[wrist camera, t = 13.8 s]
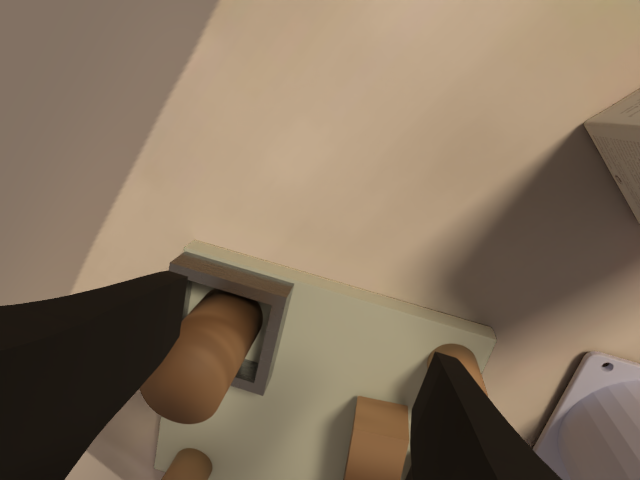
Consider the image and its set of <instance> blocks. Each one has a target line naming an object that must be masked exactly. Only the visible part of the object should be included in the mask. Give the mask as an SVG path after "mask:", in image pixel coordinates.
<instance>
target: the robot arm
mask: <svg viewBox="0 0 640 480" xmlns="http://www.w3.org/2000/svg"><path fill="white" fill-rule="evenodd" d="M187 281H188V276H185V275H181V274H178V273H175V272H171V271H163V272H158V273H154V274H150V275H146V276H143V277H139V278H135V279H132V280H128V281H125V282H121V283H117V284H114V285H110V286H106V287H102V288H98V289H94V290H90V291H86V292H81V293H77V294H73V295H69V296H64V297H59V298H54V299H48V300H42V301H36V302H29V303H23V304H16V305H7V306H0V480H65V478H66V477H67V475H68V474H69V472H70V471H71V470H72V468H73V467H74V466H75V464H76V463H77V462H78V460H79V459H80V458H81V456H82V455H83V453H84V452H85V451H86V450H87V448H88V447H89V445H90V444H91V443H92V441H93V440H94V439H95V438H96V436H97V435H98V434H99V433H100V432H101V430H102V429H103V428H104V427H105V426H106V424H107V423H108V422H109V421H110V420H111V419H112V418H113V417H114V415H115V414H116V413H117V412H118V411H119V410H120V409H121V408H122V407H123V406H124V404H125V403H126V402H127V401H128V400H129V399H130V398H131V397H132V396H133V395H134V393H135V392H136V391H137V390H138V389H139V388H140V387H141V386H142V385H143V384H144V382H145V381H146V380H147V379H148V378H149V377H150V376H151V375H152V373H153V372H154V371H155V370H156V369H157V368H158V367H159V365H160V364H161V363H162V362H163V360H164V359H165V357H166V356H167V354H168V353H169V352H170V350H171V349H172V347H173V346H174V344H175V342H176V341H177V339H178V338H179V336H180V329H181V322H182V315H183V309H184V302H185V295H186V288H187ZM607 362H608V363H609V365H608V366H606V367H602V365H603V364H604V363H607ZM410 452H411V465H412V477H413V480H640V364H639V363H636V362H633V361H629V360H626V359H622V358H619V357H616V356H612V355H609V354H605V353H602V352H598V351H592V352H589V353H587V354H586V355H585V356H584V357H583V359H582V361H581V362H580V364H579V366H578V368H577V370H576V371H575V373H574V375H573V377H572V379H571V380H570V382H569V384H568V386H567V388H566V390H565V391H564V393H563V395H562V397H561V399H560V400H559V402H558V404H557V406H556V408H555V409H554V411H553V413H552V415H551V417H550V419H549V420H548V422H547V424H546V426H545V428H544V429H543V431H542V433H541V435H540V437H539V438H538V440H537V442H536V444H535V446H534V447H533V449H531V448H530V447H529V445H528V444H527V443H526V442H525V441H524V440H523V439H522V438H521V436H520V435H519V434H518V433H517V432H516V431H515V430H514V428H513V427H512V426H511V425H510V424H509V423H508V422H507V420H506V419H505V418H504V417H503V415H502V414H501V413H500V412H499V411H498V409H497V408H496V407H495V406H494V404H493V403H492V402H491V401H490V399H489V398H488V397H487V395H486V394H485V393H484V391H483V390H482V389H481V388H480V386H479V385H478V384H477V382H476V381H475V380H474V378H473V377H472V376H471V374H470V373H469V372H468V371H467V369H466V368H465V367H464V365H463V364H462V363H461V362H460V361H459V359H458V358H456V357H452V356H449V355H446V354H442V353H439V352H436V351H435V353H434V355H433V358H432V360H431V363H430V365H429V368H428V370H427V373H426V375H425V378H424V380H423V383H422V385H421V388H420V390H419V393H418V395H417V398H416V400H415V403H414V405H413V408H412V413H411V430H410Z"/></svg>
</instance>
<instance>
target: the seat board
mask: <svg viewBox="0 0 640 480" xmlns="http://www.w3.org/2000/svg"><path fill="white" fill-rule="evenodd" d="M185 251H186V252H190V253H193V254H196V255H200V256H203V257H206V258H210V259H213V260H216V261H220V262H223V263H227V264H230V265H233V266H237V267H240V268H243V269H247V270H250V271H253V272H257V273H260V274H263V275H267V276H270V277H273V278H277V279H280V280H284V281H287V282H290V283H294V288H293V292H292V296H291V300H290V304H289V308H288V312H287V316H286V320H285V325H284V329H283V333H282V337H281V341H280V345H279V349H278V353H277V357H276V361H275V365H274V370H273V374H272V377H271V380H270V382H269V384H268V386H267V389H266V391H265V393H264V395H263V396H261V395H258V394H255V393H252V392H249V391H246V390H243V389H240V388H236V387H233V386H230V387H229V389H228V391H227V393H226V394H225V396H224V398H223V400H222V402H221V404H220V406H219V407H218V409H217V411H216V412H215V414H214V415H213V416H212V417H210V418H209V419H207V420H206V421H203V422H201V423H197V424H181V423H176V422H173V421H170V420H168V419H166V418H164V417H162V416H161V420H160V428H159V435H158V442H157V449H156V457H155V464H154V469H157V470H160V471H163V472H166V473H165V475H164V476H163V478H162V479H161V480H343V478H344V472H345V466H346V461H347V455H348V449H349V443H350V438H351V432H352V426H353V420H354V415H355V409H356V403H357V397H358V396H363V397H367V398H372V399H377V400H382V401H387V402H392V403H397V404H402V405H407V406H408V423H409V444H408V449H407V453H406V457H405V462H404V466H403V470H402V474H401V479H400V480H413V477H412V465H411V452H410V430H411V413H412V408H413V405H414V403H415V400H416V398H417V395H418V393H419V390H420V388H421V385H422V383H423V380H424V378H425V375H426V373H427V370H428V368H429V365H430V363H431V360H432V358H433V355H434V353H435V351H436V352H439V353H442V354H446V355H449V356H452V357H456V358H458V359H459V361H460V362H461V363H462V364H463V365H464V367H465V368H466V369H467V371H468V372H469V373H470V374H471V376H472V377H473V378H474V380H475V381H476V382H477V384H478V385H479V386H480V388H481V389H482V390H483V391H484V393H485V394H486V395H487V397H488V394H487V391H486V388H485V385H484V382H483V378H482V375H481V374H482V372H483V370H484V368H485V366H486V363H487V361H488V359H489V357H490V355H491V352H492V350H493V348H494V346H495V344H496V342H497V339H496V336H495V334H494V332H493V329H492V327H488V326H485V325H482V324H478V323H475V322H471V321H468V320H465V319H461V318H458V317H455V316H451V315H448V314H444V313H441V312H438V311H434V310H431V309H427V308H424V307H421V306H417V305H414V304H410V303H407V302H404V301H400V300H397V299H394V298H390V297H387V296H383V295H380V294H377V293H373V292H370V291H366V290H363V289H360V288H356V287H353V286H349V285H346V284H343V283H339V282H336V281H333V280H329V279H326V278H322V277H319V276H316V275H312V274H309V273H305V272H302V271H299V270H295V269H292V268H289V267H285V266H282V265H278V264H275V263H272V262H268V261H265V260H261V259H258V258H255V257H251V256H248V255H244V254H241V253H238V252H234V251H231V250H228V249H224V248H221V247H217V246H214V245H211V244H207V243H204V242H200V241H197V240H194V241H192V242H191V243H189V244H188V245H187V246H185V247H184V252H185ZM184 252H183V253H184ZM212 289H214V288H213V287H210V286H207V285H203V284H200V283H197V282H192V289H191V296H190V302H189V309H188V314H189V313H190V312H191V311H192V310H193V308H194V307H195V306H196V305H197V304H198V303H199V302H200V301H201V300H202V299H203V298H204V296H205V295H206V294H207V293H208V292H209V291H211V290H212ZM257 302H258V303H259V305H260V307H261V309H262V313H263V324H262V327H261V330H260V331H259V333H258V335H257V337H256V339H255V341H254V343H253V344H252V346H251V348H250V350H249V352H248V354H247V356H246V357H245V359H247V360H250V361H254V362H257V363H259V360H260V356H261V351H262V347H263V342H264V338H265V334H266V329H267V325H268V320H269V316H270V312H271V307H272V305H269V304H266V303H263V302H259V301H257Z"/></svg>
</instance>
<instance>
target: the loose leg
mask: <svg viewBox="0 0 640 480" xmlns="http://www.w3.org/2000/svg"><path fill="white" fill-rule="evenodd" d="M262 324H263V313H262V309H261V307H260V305H259V303H258V302H257V301H256V300H253V299H250V298H246V297H243V296H240V295H236V294H233V293H230V292H226V291H223V290H220V289H217V288H214V289H212V290H211V291H209V292H208V293H207V294H206V295H205V296H204V298H203V299H202V300H201V301H200V302H199V303H198V304H197V305H196V306H195V307H194V308H193V310H192V311H191V312H190V313H189V314H188V315H187V316H186V317H185V318H184V319H183V321H182V322H181V329H180V336H179V338H178V339H177V341H176V342H175V344H174V346H173V347H172V349H171V350H170V352H169V353H168V354H167V356H166V357H165V359H164V360H163V362H162V363H161V364H160V365H159V367H158V368H157V369H156V370H155V371H154V372H153V373H152V375H151V376H150V377H149V378H148V379H147V380H146V381H145V382H144V384H143V385H142V386H141V387H140V391H141V394H142V396H143V398H144V399H145V401H146V402H147V404H148V405H149V406H150V407H151V408H152V409H153V410H154V411H155V412H156V413H158V414H159V415H161V416H162V417H164V418H166V419H168V420H170V421H173V422H176V423H181V424H197V423H201V422H203V421H206V420H207V419H209V418H210V417H212V416H213V415H214V414H215V412H216V411H217V409H218V407H219V406H220V404H221V402H222V400H223V398H224V396H225V394H226V393H227V391H228V389H229V387H230V385H231V383H232V381H233V380H234V378H235V376H236V374H237V372H238V370H239V368H240V367H241V365H242V363H243V361H244V359H245V357H246V356H247V354H248V352H249V350H250V348H251V346H252V344H253V343H254V341H255V339H256V337H257V335H258V333H259V331H260V330H261V327H262Z"/></svg>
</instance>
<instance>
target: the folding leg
mask: <svg viewBox="0 0 640 480" xmlns="http://www.w3.org/2000/svg"><path fill="white" fill-rule="evenodd" d="M408 444H409V423H408V406H407V405H402V404H397V403H392V402H387V401H382V400H377V399H372V398H367V397H363V396H358V397H357V403H356V409H355V415H354V420H353V426H352V432H351V438H350V443H349V449H348V455H347V461H346V466H345V472H344V478H343V480H400V479H401V474H402V470H403V466H404V462H405V457H406V453H407V449H408Z"/></svg>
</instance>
